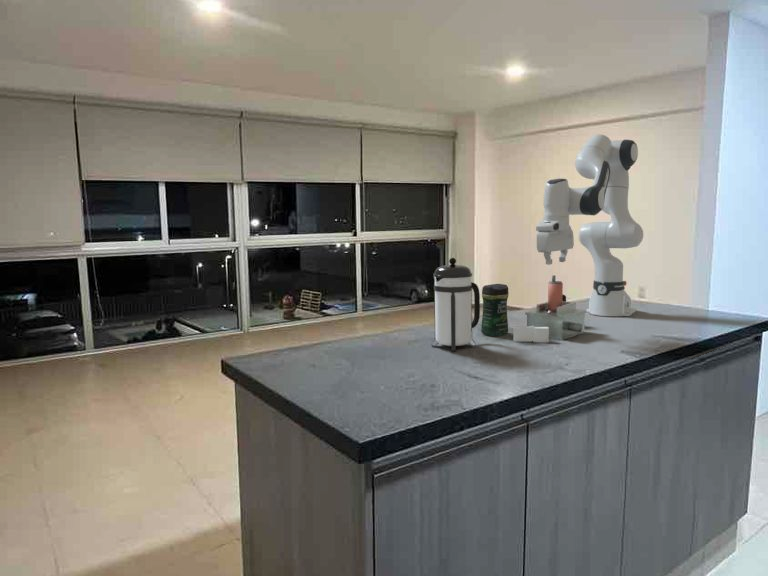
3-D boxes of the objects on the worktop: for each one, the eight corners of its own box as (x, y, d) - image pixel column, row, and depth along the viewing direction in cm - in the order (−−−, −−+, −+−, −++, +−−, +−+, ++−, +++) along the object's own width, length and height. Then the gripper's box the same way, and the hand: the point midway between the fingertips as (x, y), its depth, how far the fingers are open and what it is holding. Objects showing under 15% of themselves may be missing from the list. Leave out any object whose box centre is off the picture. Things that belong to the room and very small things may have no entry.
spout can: (552, 308, 203) (552, 274, 201) (564, 309, 199) (565, 274, 197) (545, 310, 199) (545, 275, 198) (557, 311, 196) (558, 276, 194)
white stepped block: (504, 342, 189) (504, 326, 188) (521, 336, 197) (521, 321, 196) (543, 349, 179) (543, 332, 178) (560, 343, 186) (560, 326, 186)
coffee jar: (493, 337, 194) (493, 286, 192) (477, 334, 201) (477, 284, 198) (512, 333, 200) (512, 283, 197) (496, 330, 206) (496, 281, 204)
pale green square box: (549, 326, 210) (549, 299, 208) (595, 333, 197) (596, 304, 195) (525, 334, 198) (525, 305, 197) (572, 341, 185) (573, 311, 184)
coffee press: (478, 352, 175) (478, 259, 170) (428, 351, 178) (427, 260, 174) (479, 340, 191) (479, 255, 187) (434, 339, 195) (433, 255, 191)
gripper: (562, 223, 204) (562, 260, 206) (533, 226, 190) (533, 265, 192) (578, 223, 200) (577, 260, 202) (549, 226, 186) (549, 266, 188)
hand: (555, 263), depth 197 cm, fingers open, 8 cm apart
